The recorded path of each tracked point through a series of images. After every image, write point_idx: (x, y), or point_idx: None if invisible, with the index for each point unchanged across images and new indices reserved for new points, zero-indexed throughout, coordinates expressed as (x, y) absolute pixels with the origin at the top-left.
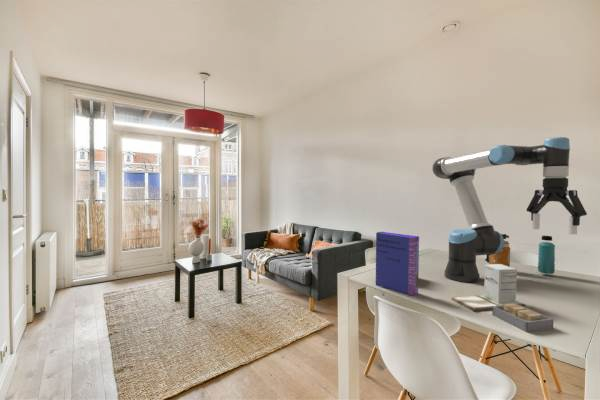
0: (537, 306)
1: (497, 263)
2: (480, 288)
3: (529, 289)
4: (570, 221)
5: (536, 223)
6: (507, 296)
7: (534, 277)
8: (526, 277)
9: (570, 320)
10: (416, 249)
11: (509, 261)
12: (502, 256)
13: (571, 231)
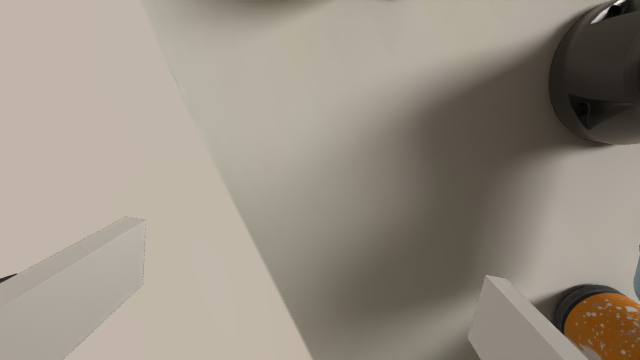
0: (295, 36)
1: (609, 307)
2: (493, 17)
3: (403, 189)
4: (15, 287)
5: (512, 344)
6: None
7: None
8: None
9: (193, 12)
10: None
11: (586, 355)
12: (623, 340)
13: (106, 230)
